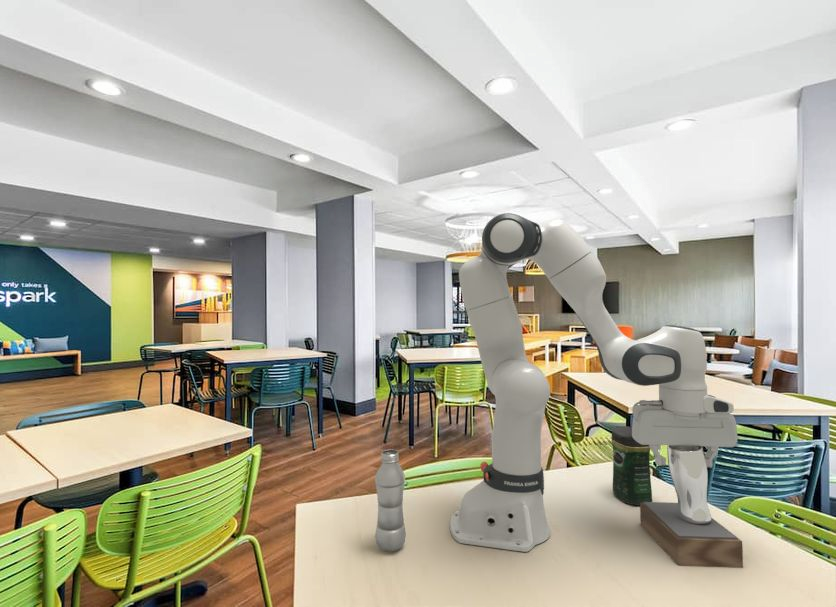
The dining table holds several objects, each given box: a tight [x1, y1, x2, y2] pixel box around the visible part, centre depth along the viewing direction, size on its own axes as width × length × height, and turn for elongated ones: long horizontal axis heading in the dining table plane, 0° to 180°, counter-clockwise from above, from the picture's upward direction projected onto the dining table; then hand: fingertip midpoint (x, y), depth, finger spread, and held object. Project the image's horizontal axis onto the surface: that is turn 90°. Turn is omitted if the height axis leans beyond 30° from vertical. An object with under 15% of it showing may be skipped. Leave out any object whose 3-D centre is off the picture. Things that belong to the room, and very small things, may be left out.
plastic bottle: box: [374, 449, 407, 552], centre depth 89 cm, size 6×7×20 cm
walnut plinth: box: [639, 501, 744, 568], centre depth 89 cm, size 12×16×5 cm
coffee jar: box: [611, 425, 653, 506], centre depth 111 cm, size 10×8×19 cm
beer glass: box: [666, 445, 713, 524], centre depth 89 cm, size 7×7×15 cm
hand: (683, 465), depth 89 cm, fingers open, 8 cm apart
